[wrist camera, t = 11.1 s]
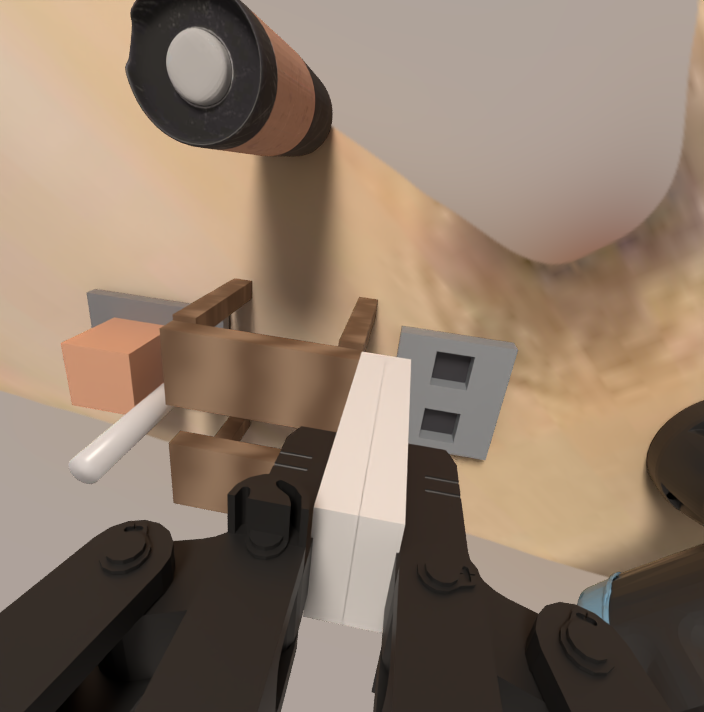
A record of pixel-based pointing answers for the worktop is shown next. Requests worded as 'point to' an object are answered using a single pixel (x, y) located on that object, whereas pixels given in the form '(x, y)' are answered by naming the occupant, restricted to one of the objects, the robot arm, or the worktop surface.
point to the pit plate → (455, 389)
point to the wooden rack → (248, 389)
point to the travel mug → (224, 79)
